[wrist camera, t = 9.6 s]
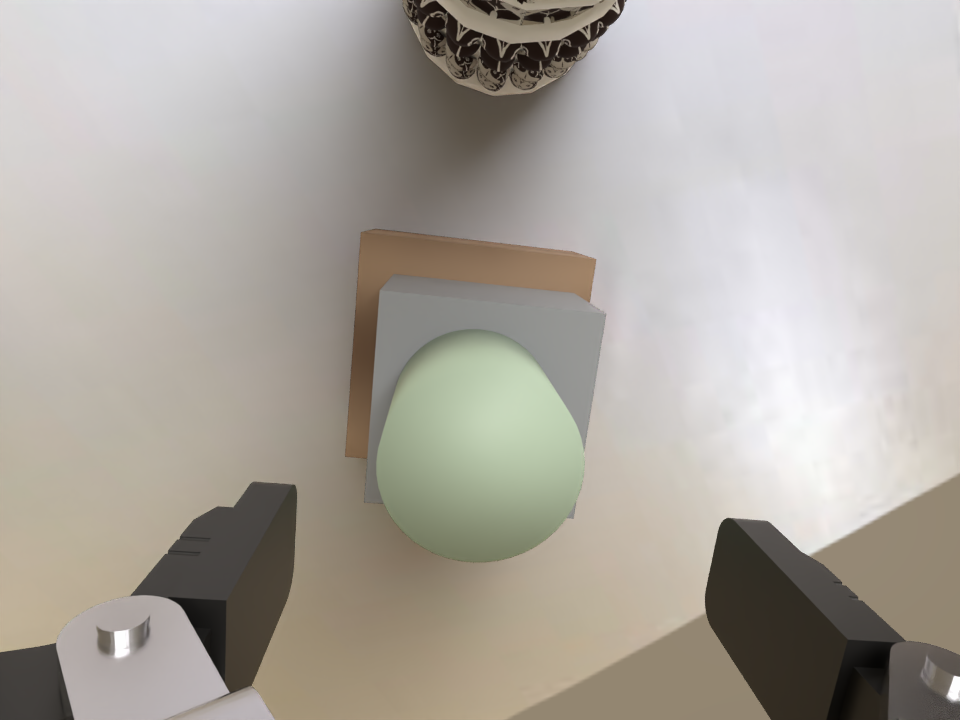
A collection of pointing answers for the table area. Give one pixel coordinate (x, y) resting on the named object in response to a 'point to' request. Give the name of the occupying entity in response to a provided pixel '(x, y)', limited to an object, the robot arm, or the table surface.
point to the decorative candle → (509, 39)
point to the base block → (449, 262)
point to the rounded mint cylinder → (478, 449)
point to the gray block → (502, 309)
